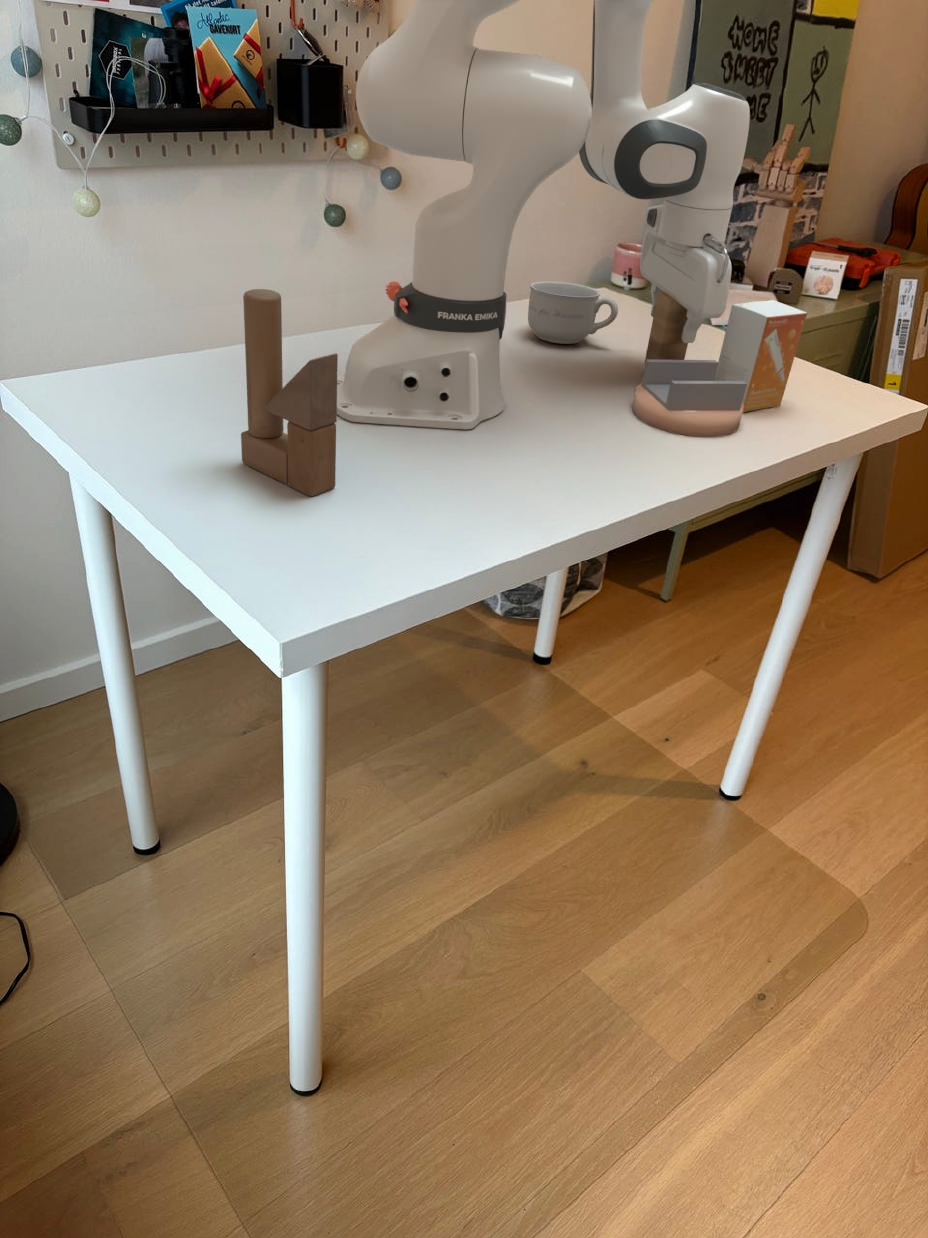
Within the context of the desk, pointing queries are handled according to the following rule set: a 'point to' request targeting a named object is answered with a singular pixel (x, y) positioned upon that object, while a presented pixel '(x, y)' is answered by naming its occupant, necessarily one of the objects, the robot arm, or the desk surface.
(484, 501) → the desk surface
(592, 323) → the teacup
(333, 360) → the brown wooden block assembly
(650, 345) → the wood grain beam
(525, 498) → the desk surface
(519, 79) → the robot arm
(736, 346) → the small box
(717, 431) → the round base with bracket
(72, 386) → the desk surface
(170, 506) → the desk surface
